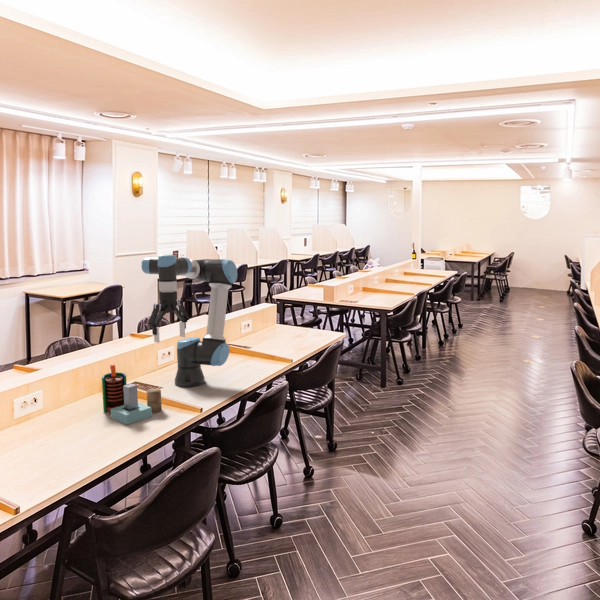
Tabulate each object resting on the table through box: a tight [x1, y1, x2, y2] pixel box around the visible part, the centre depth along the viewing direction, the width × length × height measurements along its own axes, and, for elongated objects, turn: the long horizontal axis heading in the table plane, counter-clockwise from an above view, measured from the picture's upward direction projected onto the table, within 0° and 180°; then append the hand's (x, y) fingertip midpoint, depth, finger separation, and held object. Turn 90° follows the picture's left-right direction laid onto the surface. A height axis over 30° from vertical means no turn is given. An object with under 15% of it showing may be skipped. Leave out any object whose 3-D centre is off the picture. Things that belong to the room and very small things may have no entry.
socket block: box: [110, 402, 153, 425], centre depth 228 cm, size 12×12×4 cm
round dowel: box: [146, 388, 163, 414], centre depth 235 cm, size 6×6×9 cm
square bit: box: [123, 383, 139, 411], centre depth 227 cm, size 4×4×14 cm
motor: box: [101, 363, 128, 414], centre depth 236 cm, size 10×9×20 cm
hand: (170, 339), depth 233 cm, fingers open, 13 cm apart
